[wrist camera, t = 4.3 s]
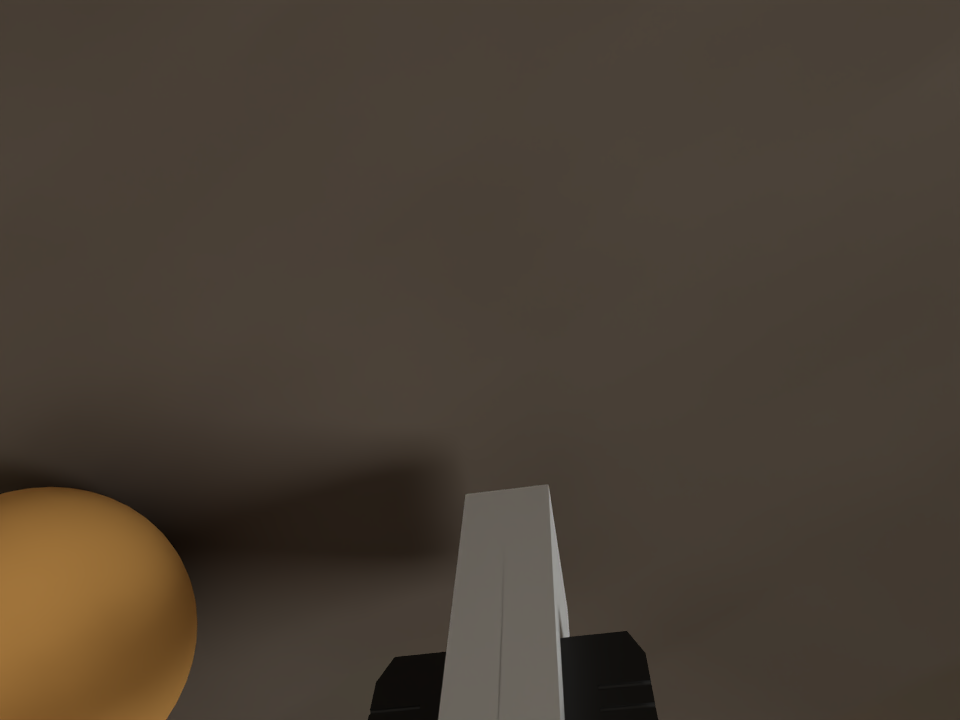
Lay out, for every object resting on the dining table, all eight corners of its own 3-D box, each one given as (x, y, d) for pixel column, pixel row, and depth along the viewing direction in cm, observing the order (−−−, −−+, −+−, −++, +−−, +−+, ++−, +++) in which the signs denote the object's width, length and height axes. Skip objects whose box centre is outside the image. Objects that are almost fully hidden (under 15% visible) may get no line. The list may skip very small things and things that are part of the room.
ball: (-71, 767, 18) (176, 611, 21) (-12, 946, 14) (286, 721, 17) (-220, 549, 16) (79, 408, 19) (-202, 685, 12) (177, 477, 15)
